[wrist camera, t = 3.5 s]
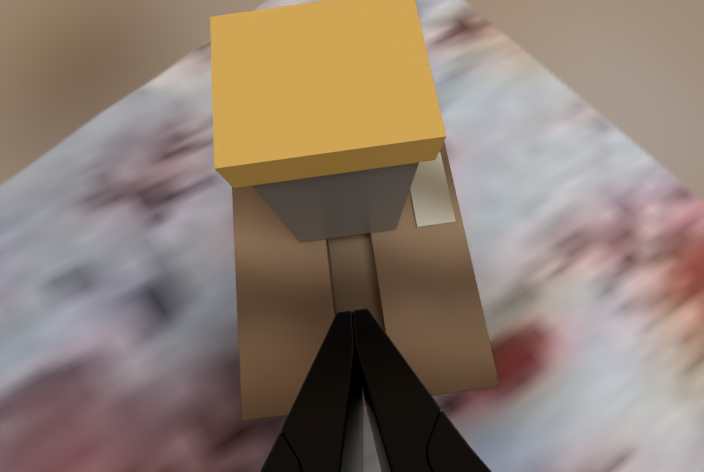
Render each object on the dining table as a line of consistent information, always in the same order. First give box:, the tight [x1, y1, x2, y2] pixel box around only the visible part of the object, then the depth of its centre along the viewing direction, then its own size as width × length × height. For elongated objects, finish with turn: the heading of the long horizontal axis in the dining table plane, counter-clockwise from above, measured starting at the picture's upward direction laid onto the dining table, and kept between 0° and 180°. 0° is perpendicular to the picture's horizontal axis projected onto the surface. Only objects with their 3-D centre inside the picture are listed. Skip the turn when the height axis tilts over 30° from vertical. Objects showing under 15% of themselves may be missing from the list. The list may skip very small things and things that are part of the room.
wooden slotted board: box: [232, 142, 500, 421], centre depth 19 cm, size 22×12×3 cm, turn 7°
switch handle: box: [210, 0, 446, 242], centre depth 14 cm, size 5×6×11 cm
